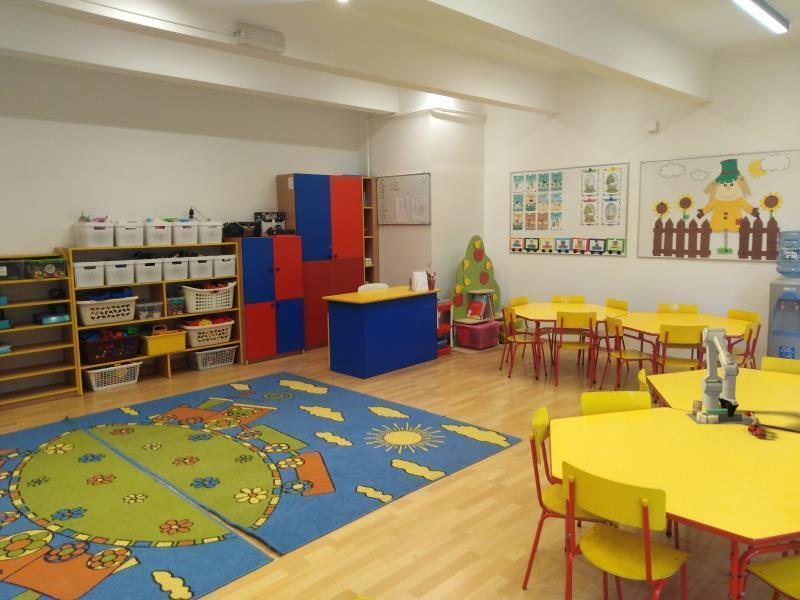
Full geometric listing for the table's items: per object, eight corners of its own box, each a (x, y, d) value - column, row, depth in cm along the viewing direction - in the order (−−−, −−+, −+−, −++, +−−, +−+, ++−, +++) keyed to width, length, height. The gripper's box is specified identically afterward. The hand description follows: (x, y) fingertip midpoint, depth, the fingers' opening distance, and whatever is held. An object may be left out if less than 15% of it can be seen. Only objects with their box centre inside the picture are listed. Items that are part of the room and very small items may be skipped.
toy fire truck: (759, 439, 277) (760, 419, 276) (743, 429, 291) (744, 409, 289) (766, 439, 277) (767, 419, 276) (750, 429, 291) (751, 409, 289)
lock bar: (705, 412, 302) (705, 408, 301) (730, 412, 301) (730, 408, 300) (707, 414, 299) (708, 410, 299) (733, 414, 298) (733, 410, 298)
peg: (691, 413, 311) (691, 400, 310) (699, 413, 311) (700, 400, 310) (694, 416, 307) (694, 402, 306) (702, 416, 307) (703, 402, 306)
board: (685, 415, 312) (685, 407, 311) (746, 415, 309) (746, 407, 308) (697, 426, 296) (697, 417, 295) (761, 426, 293) (762, 418, 292)
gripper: (714, 384, 305) (713, 409, 307) (727, 392, 291) (725, 419, 293) (728, 384, 305) (727, 410, 306) (742, 392, 290) (740, 419, 292)
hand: (727, 414), depth 300 cm, fingers open, 6 cm apart
